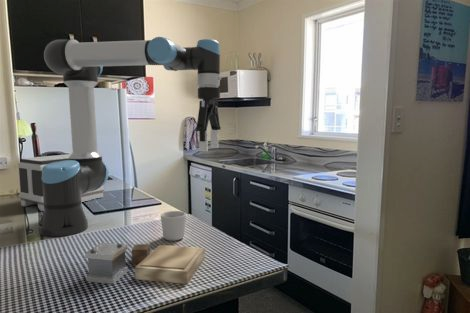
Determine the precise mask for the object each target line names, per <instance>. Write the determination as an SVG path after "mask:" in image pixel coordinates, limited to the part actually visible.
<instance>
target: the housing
mask: <svg viewBox="0 0 470 313" xmlns="http://www.w3.org/2000/svg"><path fill="white" fill-rule="evenodd" d="M127 250H128V244H124V243H123V244H122V243H109V242H101V243H99V244H97V245H96V246H94V247H92V248H91V249H90V250H87V251H86V252H85V253H84V258H85V259H87V263H88V264H87V266H88V275H87V276H86V277H85V279H86V282H90V283H91V282H92V283H101V284H112V285H113V284H115V283H116V282H117V281H118V280H120V279H121V278H122V277H123V276H124V275H126V274H127V273H128V272H129V266H126V251H127Z"/></svg>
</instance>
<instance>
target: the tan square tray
mask: <svg viewBox="0 0 470 313" xmlns="http://www.w3.org/2000/svg"><path fill="white" fill-rule="evenodd" d="M205 252H206V250H205V247H195V246H194V247H193V246H182V245H181V246H178V245H167V244H166V245H165V244H164V245H163V244H159V245H158V246H157V247H156V248H154V250H152V251H150V254H149V255H148V256H147V257H146V258H145V259H144V260H143V261H141V262H140V263H139V264H136V266H135V267H134V271H135V272H134V273H135V276H134V277H135V280H137V281H138V280H140V281H148V282H149V281H152V282H161V283H162V282H163V283H175V284H183V285H184V284H185V285H188V284H189V282H190V281H191V279H192V278H193V276H194V275H195V274H196V272H197V270H198V269H199V268H200V266H201V264H203V261H204V260H205V257H206V256H205V255H206V254H205Z"/></svg>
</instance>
